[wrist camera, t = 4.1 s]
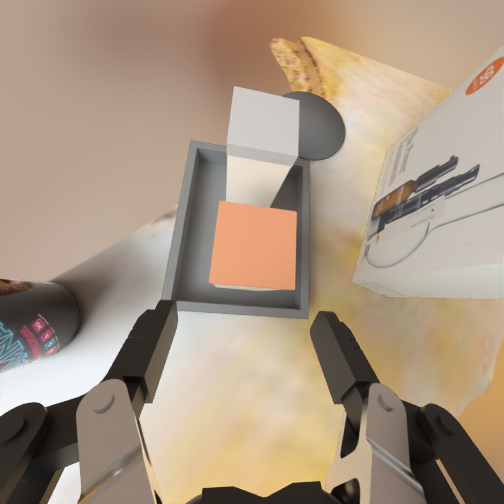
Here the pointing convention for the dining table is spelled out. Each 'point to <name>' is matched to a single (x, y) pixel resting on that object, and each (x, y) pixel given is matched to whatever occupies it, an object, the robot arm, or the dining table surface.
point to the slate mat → (317, 126)
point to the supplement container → (34, 321)
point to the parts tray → (203, 233)
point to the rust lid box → (254, 248)
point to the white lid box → (260, 146)
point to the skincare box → (443, 200)
